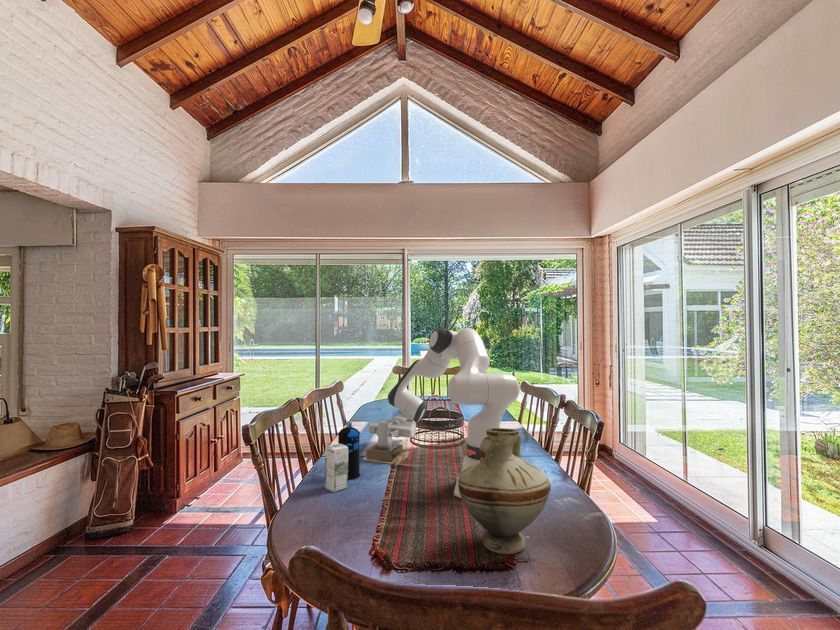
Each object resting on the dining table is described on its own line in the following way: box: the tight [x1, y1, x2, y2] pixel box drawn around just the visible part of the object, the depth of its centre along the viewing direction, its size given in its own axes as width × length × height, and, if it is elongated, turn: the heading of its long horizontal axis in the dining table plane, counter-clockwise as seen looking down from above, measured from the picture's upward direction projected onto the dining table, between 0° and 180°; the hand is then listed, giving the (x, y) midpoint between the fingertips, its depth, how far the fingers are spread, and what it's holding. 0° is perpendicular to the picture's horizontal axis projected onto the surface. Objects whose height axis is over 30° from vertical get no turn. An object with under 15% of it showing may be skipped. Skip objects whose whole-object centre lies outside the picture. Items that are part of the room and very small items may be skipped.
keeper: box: [361, 442, 405, 465], centre depth 190 cm, size 14×14×4 cm
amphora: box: [457, 427, 552, 555], centre depth 118 cm, size 24×24×30 cm
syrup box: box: [324, 443, 349, 493], centre depth 155 cm, size 6×6×14 cm
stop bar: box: [377, 419, 393, 451], centre depth 190 cm, size 4×4×12 cm
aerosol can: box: [337, 420, 361, 481], centre depth 167 cm, size 8×8×20 cm
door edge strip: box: [392, 449, 411, 467], centre depth 186 cm, size 16×1×2 cm, turn 159°
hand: (384, 434), depth 189 cm, fingers closed on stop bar, 4 cm apart
